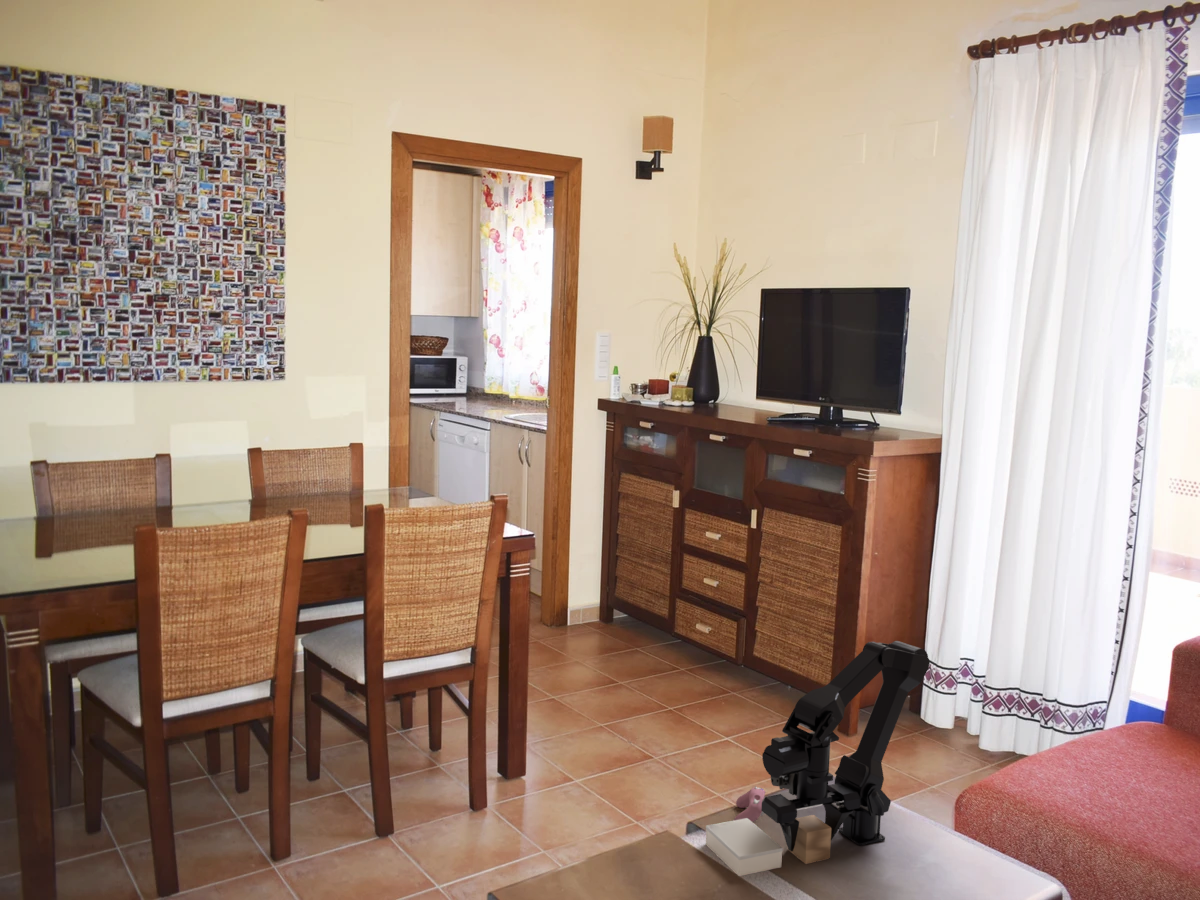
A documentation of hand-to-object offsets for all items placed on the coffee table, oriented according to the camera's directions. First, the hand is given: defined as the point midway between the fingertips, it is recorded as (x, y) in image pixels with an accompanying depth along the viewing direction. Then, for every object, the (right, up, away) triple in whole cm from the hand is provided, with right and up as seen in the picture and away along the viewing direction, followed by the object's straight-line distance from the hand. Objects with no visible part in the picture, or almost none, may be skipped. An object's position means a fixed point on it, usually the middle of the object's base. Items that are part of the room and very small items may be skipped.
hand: (809, 846), depth 180 cm
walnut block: (0, -2, 0) cm, 2 cm away
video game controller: (-9, 0, +14) cm, 17 cm away
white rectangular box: (-13, -2, -1) cm, 13 cm away
